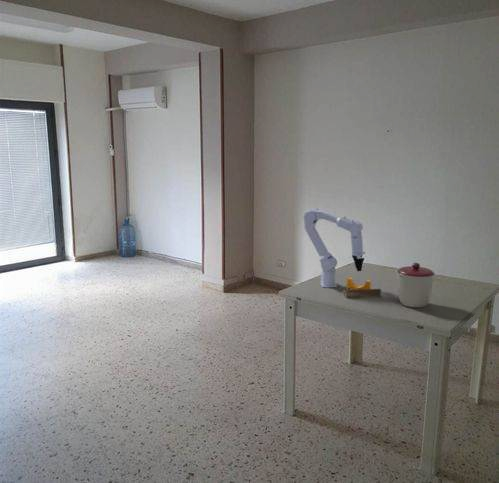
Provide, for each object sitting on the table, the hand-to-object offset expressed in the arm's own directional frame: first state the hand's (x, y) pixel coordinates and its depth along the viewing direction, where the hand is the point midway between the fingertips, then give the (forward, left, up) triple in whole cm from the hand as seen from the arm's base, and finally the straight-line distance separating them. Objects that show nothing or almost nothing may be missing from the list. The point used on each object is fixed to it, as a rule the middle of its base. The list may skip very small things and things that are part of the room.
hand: (358, 269), depth 260 cm
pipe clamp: (+3, -1, -12) cm, 12 cm away
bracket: (+10, -1, -11) cm, 15 cm away
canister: (+27, +20, -12) cm, 35 cm away
